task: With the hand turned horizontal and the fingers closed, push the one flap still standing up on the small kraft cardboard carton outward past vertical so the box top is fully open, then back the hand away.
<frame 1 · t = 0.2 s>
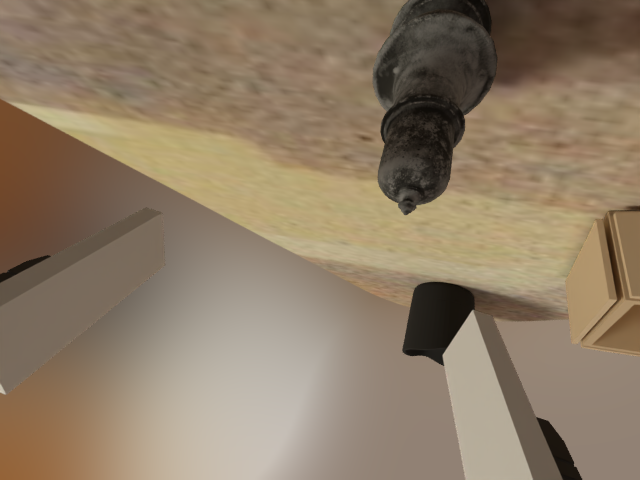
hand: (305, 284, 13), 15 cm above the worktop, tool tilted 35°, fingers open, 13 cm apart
pen holder: (443, 291, 46), on the worktop
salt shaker: (437, 38, 17), on the worktop
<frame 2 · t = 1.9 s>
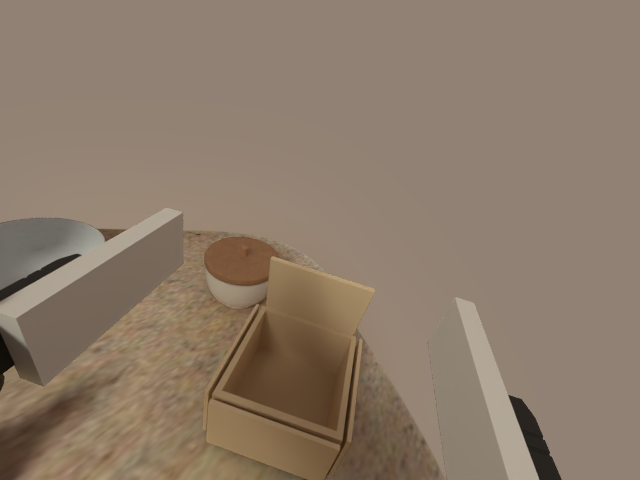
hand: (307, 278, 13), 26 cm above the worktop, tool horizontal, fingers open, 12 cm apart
chinaware: (44, 297, 39), on the worktop
lidded jar: (238, 296, 48), on the worktop
flap: (315, 298, 33), point 12 cm above the worktop, hinge at -12.0°
carton: (283, 401, 35), on the worktop
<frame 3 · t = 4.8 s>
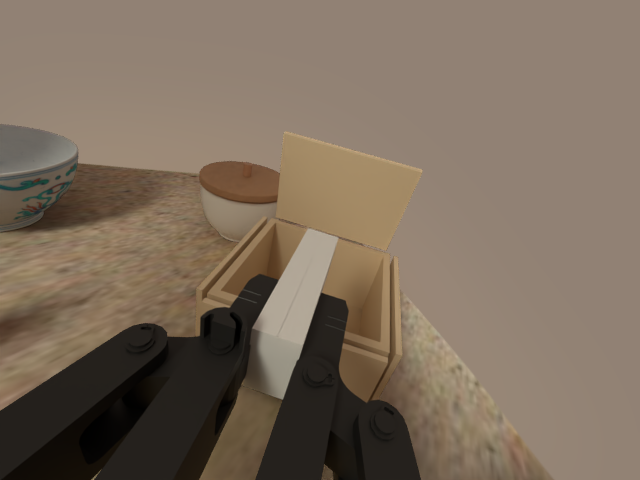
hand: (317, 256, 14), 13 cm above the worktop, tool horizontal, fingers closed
chinaware: (2, 218, 32), on the worktop
lidded jar: (241, 231, 40), on the worktop
flap: (340, 196, 26), point 12 cm above the worktop, hinge at -12.0°
carton: (299, 333, 28), on the worktop
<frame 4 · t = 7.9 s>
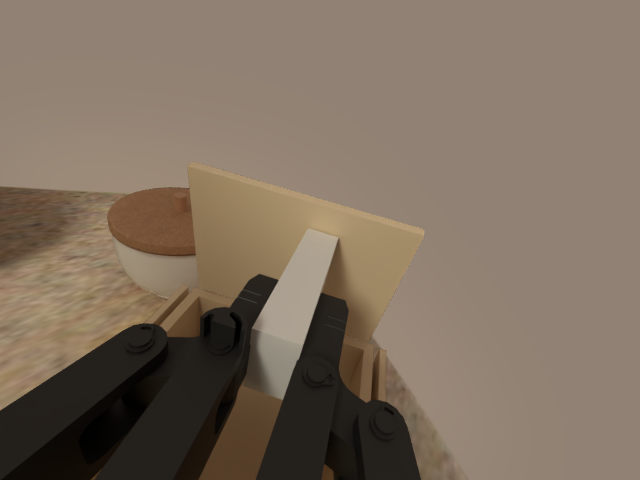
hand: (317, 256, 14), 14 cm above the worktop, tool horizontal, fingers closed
lidded jar: (181, 280, 30), on the worktop
flap: (291, 263, 16), point 12 cm above the worktop, hinge at -8.4°, touching gripper
carton: (231, 475, 18), on the worktop
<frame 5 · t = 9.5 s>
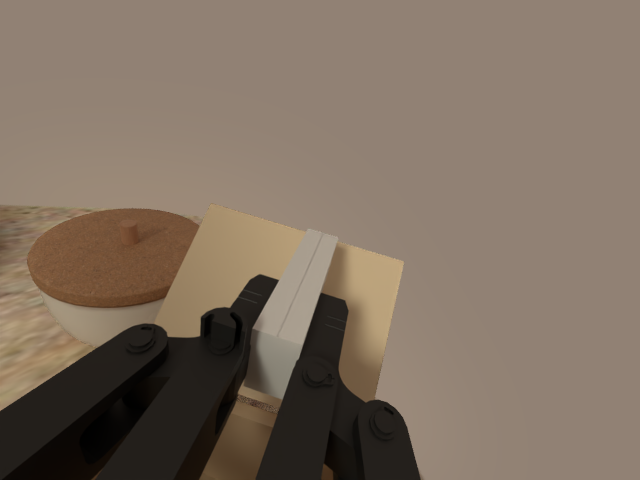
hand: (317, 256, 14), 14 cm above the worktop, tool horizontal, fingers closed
lidded jar: (139, 321, 25), on the worktop
flap: (280, 307, 15), point 11 cm above the worktop, hinge at 49.4°, touching gripper
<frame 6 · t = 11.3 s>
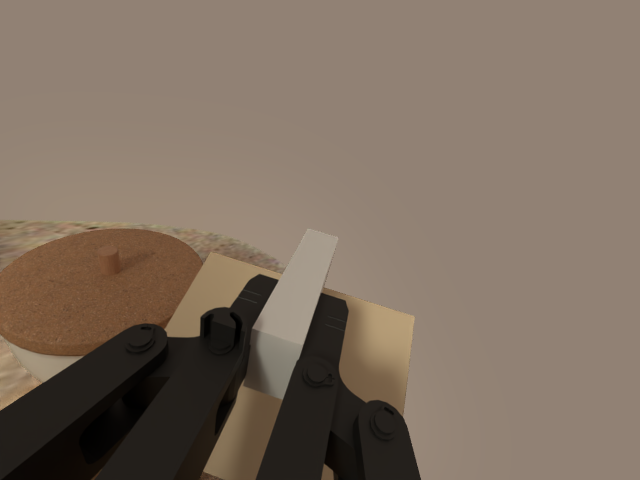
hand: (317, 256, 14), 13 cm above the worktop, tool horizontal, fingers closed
lidded jar: (125, 354, 22), on the worktop
flap: (281, 367, 13), point 10 cm above the worktop, hinge at 63.4°
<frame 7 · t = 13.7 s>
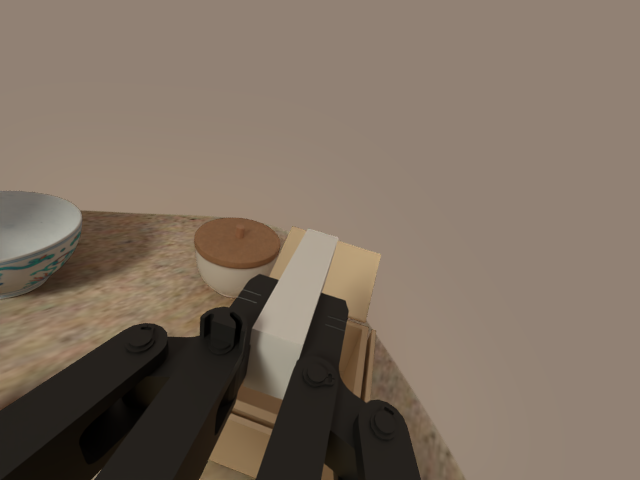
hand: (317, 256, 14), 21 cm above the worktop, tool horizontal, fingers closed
chinaware: (12, 280, 35), on the worktop
lidded jar: (234, 284, 43), on the worktop
flap: (325, 270, 33), point 10 cm above the worktop, hinge at 63.5°
carton: (282, 402, 30), on the worktop
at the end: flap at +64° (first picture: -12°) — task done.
